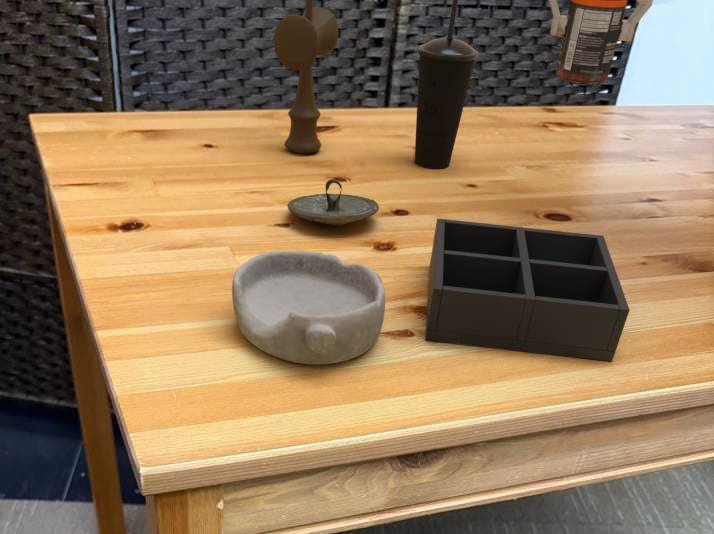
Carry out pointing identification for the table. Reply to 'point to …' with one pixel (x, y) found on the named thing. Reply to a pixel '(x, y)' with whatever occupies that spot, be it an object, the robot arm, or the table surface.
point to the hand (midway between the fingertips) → (590, 37)
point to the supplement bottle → (590, 40)
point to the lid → (333, 207)
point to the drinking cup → (441, 95)
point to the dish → (308, 306)
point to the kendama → (305, 68)
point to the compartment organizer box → (524, 290)
